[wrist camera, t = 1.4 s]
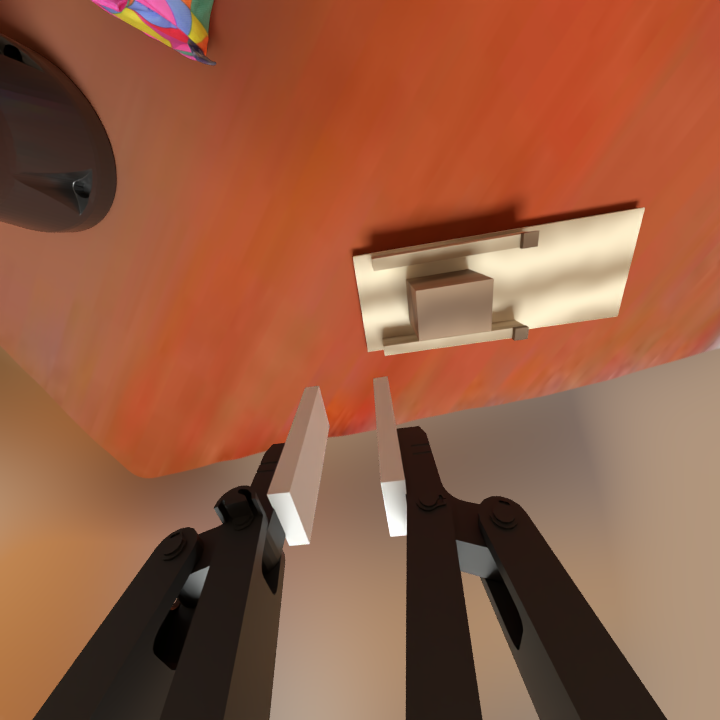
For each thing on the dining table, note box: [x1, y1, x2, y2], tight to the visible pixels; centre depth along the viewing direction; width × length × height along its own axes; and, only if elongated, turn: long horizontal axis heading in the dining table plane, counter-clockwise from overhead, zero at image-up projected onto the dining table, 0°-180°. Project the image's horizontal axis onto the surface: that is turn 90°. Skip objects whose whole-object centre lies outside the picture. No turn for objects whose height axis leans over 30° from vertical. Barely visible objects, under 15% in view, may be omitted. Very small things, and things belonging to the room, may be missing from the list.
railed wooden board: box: [353, 208, 645, 356], centre depth 30 cm, size 12×30×4 cm, turn 99°
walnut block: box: [406, 269, 494, 341], centre depth 29 cm, size 5×7×6 cm
